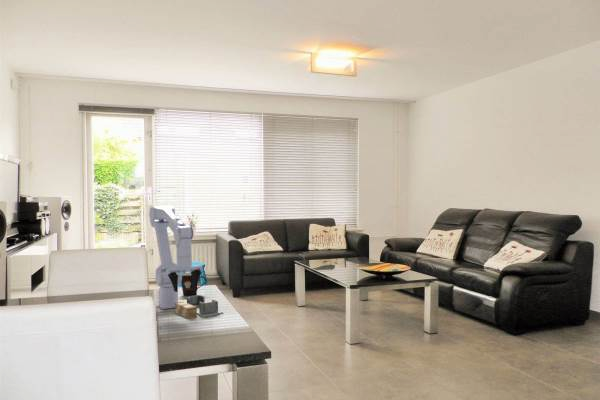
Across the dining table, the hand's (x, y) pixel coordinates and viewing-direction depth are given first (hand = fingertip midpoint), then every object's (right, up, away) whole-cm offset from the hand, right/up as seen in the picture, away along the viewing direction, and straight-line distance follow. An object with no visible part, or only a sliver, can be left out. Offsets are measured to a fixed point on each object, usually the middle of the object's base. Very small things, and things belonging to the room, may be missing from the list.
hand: (185, 290), depth 185 cm
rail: (0, -10, 0) cm, 10 cm away
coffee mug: (-6, -10, +40) cm, 41 cm away
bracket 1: (+2, -10, +9) cm, 13 cm away
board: (+6, -9, +4) cm, 12 cm away
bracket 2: (+9, -9, -1) cm, 13 cm away
